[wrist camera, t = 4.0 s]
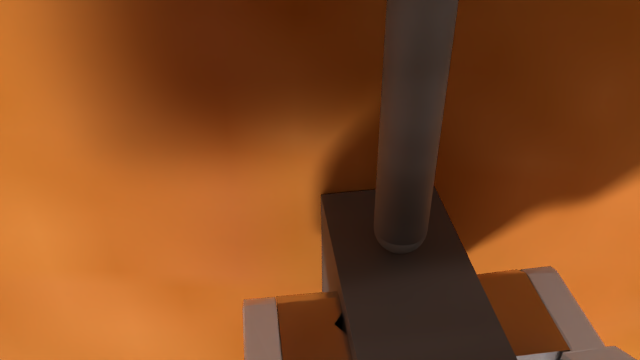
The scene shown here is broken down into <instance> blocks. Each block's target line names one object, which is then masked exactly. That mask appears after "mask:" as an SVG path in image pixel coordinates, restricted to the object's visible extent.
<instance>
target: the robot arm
mask: <svg viewBox="0 0 640 360" xmlns="http://www.w3.org/2000/svg"><path fill="white" fill-rule="evenodd" d="M477 276H478V278H479V280H480V283H481V285H482V287H483V289H484V291H485V293H486V295H487V297H488V299H489V301H490V303H491V305H492V308H493V310H494V312H495V314H496V316H497V318H498V320H499V322H500V324H501V326H502V328H503V330H504V333H505V335H506V337H507V339H508V341H509V343H510V345H511V347H512V349H513V351H514V353H515V355H516V358H517V360H636V359H635V358H633V357H632V356H630V355H629V354H627V353H625V352H624V351H622V350H621V349H619V348H618V347H616V346H607V347H606V346H605V345H604V343H603V342H602V340H601V338H600V337H599V335H598V334H597V332H596V331H595V329H594V328H593V326H592V325H591V323H590V321H589V320H588V318H587V317H586V315H585V314H584V312H583V311H582V309H581V308H580V306H579V305H578V303H577V301H576V300H575V298H574V297H573V295H572V294H571V292H570V291H569V289H568V288H567V286H566V284H565V283H564V281H563V280H562V278H561V277H560V275H559V274H558V272H557V271H556V270H555V269H554V268H552V267H551V266H547V267H538V268H529V269H521V270H509V271H501V272H492V273H484V274H477ZM276 300H277V306H276ZM342 312H343V311H342V306H341V302H340V297H339V294H338V291H333V292H321V293H309V294H297V295H286V296H276V298H275V297H267V298H256V299H246V300H244V303H243V333H244V360H353V358H352V354H351V349H350V344H349V339H348V335H346V334H345V333H344V332H343V331H342ZM277 314H278V316H277ZM278 325H279V326H278Z"/></svg>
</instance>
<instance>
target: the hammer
mask: <svg viewBox="0 0 640 360" xmlns="http://www.w3.org/2000/svg"><path fill="white" fill-rule="evenodd" d="M458 1H459V0H387V6H386V23H385V40H384V57H383V74H382V91H381V108H380V125H379V142H378V160H377V177H376V190H366V191H355V192H344V193H334V194H323V195H321V230H322V292H333V291H338V294H339V297H340V302H341V306H342V311H343V312H342V331H343V332H344V333H345V334H346V335H348V339H349V344H350V349H351V354H352V358H353V360H517V358H516V355H515V353H514V351H513V349H512V347H511V345H510V343H509V341H508V339H507V337H506V335H505V333H504V330H503V328H502V326H501V324H500V322H499V320H498V318H497V316H496V314H495V312H494V310H493V308H492V305H491V303H490V301H489V299H488V297H487V295H486V293H485V291H484V289H483V287H482V285H481V283H480V280H479V278H478V276H477V274H476V272H475V270H474V268H473V266H472V264H471V262H470V260H469V258H468V255H467V253H466V251H465V249H464V247H463V245H462V243H461V241H460V239H459V237H458V235H457V233H456V230H455V228H454V226H453V224H452V222H451V220H450V218H449V216H448V214H447V212H446V210H445V208H444V205H443V203H442V201H441V199H440V197H439V195H438V193H437V191H436V189H435V187H434V179H435V172H436V164H437V157H438V149H439V142H440V135H441V127H442V120H443V112H444V105H445V97H446V90H447V83H448V75H449V68H450V60H451V53H452V46H453V38H454V31H455V23H456V16H457V9H458Z"/></svg>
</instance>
